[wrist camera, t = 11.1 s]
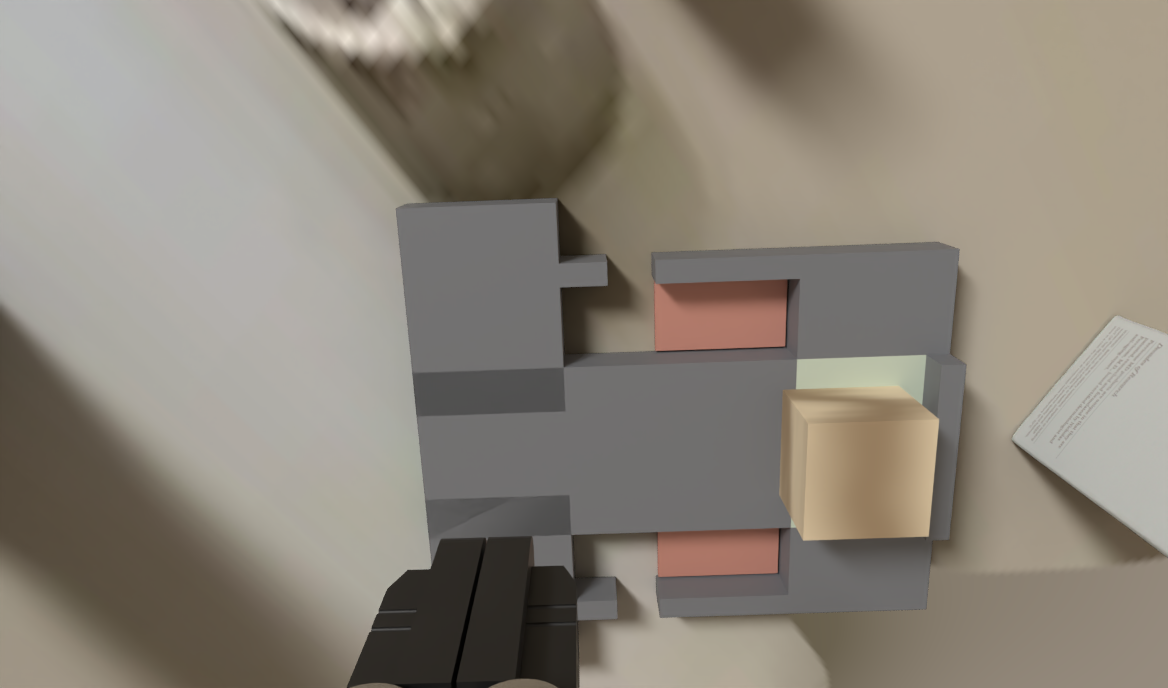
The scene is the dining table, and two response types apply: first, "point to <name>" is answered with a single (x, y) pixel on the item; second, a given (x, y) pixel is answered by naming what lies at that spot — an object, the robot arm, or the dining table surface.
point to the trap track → (667, 404)
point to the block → (857, 462)
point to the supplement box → (1111, 427)
